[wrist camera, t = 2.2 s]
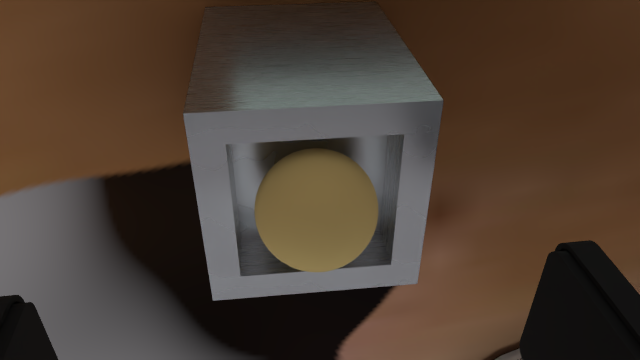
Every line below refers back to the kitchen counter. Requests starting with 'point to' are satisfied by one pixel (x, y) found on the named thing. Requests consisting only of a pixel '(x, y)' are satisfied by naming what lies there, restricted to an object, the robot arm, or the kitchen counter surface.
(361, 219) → the ball
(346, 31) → the hollow metal cube
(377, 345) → the kitchen counter surface
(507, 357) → the supplement can
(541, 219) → the kitchen counter surface
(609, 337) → the robot arm
